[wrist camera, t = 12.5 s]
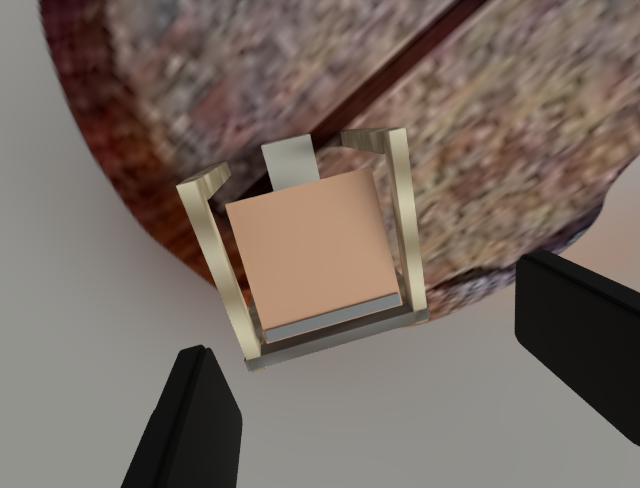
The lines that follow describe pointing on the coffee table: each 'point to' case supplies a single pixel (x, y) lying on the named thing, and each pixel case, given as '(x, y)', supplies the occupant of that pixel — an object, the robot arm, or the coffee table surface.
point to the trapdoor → (315, 254)
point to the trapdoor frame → (265, 354)
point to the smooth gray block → (290, 162)
